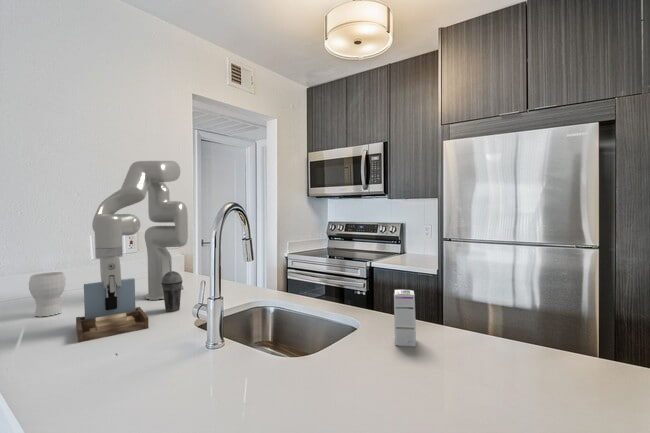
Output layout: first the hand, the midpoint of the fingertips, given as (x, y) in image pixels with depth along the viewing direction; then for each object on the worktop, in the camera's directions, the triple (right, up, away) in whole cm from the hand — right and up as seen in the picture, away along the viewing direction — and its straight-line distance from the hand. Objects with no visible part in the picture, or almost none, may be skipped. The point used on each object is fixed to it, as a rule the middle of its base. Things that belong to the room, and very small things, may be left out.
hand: (110, 308), depth 111 cm
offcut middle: (+5, -4, -6) cm, 9 cm away
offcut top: (+4, -2, -6) cm, 8 cm away
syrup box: (+93, -6, -15) cm, 95 cm away
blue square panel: (0, -5, 0) cm, 5 cm away
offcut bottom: (+5, -5, -6) cm, 9 cm away
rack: (+3, -6, -4) cm, 8 cm away
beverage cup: (+14, -6, +15) cm, 21 cm away
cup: (-33, -7, +15) cm, 37 cm away
